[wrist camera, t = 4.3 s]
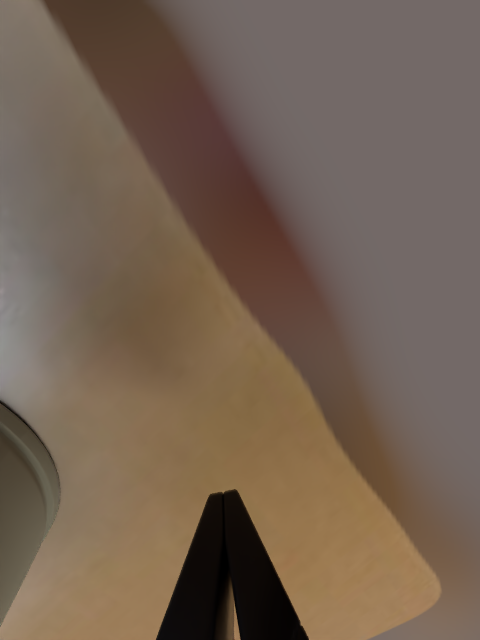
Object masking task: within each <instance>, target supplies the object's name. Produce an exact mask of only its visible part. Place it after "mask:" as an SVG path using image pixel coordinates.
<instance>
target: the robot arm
mask: <svg viewBox="0 0 480 640" xmlns="http://www.w3.org/2000/svg"><path fill="white" fill-rule="evenodd" d="M234 602H235V608H236V614H237V620H238V626H239V633H240V639H241V640H309V638H308V636H307V634H306V632H305V630H304V628H303V626H301V624H300V620H299V618H298V616H297V614H296V612H295V610H294V608H293V605H292V603H291V601H290V599H289V597H288V595H287V593H286V591H285V589H284V587H283V585H282V583H281V580H280V578H279V576H278V574H277V572H276V570H275V568H274V566H273V564H272V562H271V560H270V557H269V555H268V553H267V551H266V549H265V547H264V545H263V543H262V541H261V539H260V537H259V535H258V532H257V530H256V528H255V526H254V524H253V522H252V520H251V518H250V516H249V514H248V512H247V510H246V507H245V505H244V503H243V501H242V499H241V497H240V495H239V493H238V491H237V490H236V489H234V490H228V491H225V492H224V494H223V493H222V492H218V493H213V494H210V495H209V497H208V499H207V502H206V505H205V507H204V510H203V513H202V516H201V518H200V521H199V524H198V526H197V529H196V532H195V535H194V537H193V540H192V543H191V545H190V548H189V551H188V554H187V556H186V559H185V562H184V564H183V567H182V570H181V573H180V575H179V578H178V581H177V584H176V586H175V589H174V592H173V594H172V597H171V600H170V603H169V605H168V608H167V611H166V613H165V616H164V619H163V622H162V624H161V627H160V630H159V632H158V635H157V638H156V640H234Z"/></svg>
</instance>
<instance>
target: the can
mask: <svg viewBox="0 0 480 640" xmlns="http://www.w3.org/2000/svg"><path fill="white" fill-rule="evenodd" d="M59 502H60V485H59V479H58V475H57V471H56V469H55V466H54V464H53V461H52V459H51V457H50V456H49V454H48V452H47V450H46V449H45V447H44V446H43V444H42V443H41V442H40V440H39V439H38V438H37V436H36V435H35V434H34V433H33V432H32V431H31V429H30V428H29V427H28V426H27V425H26V424H25V423H24V422H22V421H21V420H20V419H19V418H18V417H17V416H16V415H15V414H13V413H12V412H11V411H10V410H8V409H7V408H6V407H5V406H3V405H2V404H0V626H1V624H2V622H3V620H4V618H5V616H6V614H7V612H8V610H9V608H10V606H11V604H12V602H13V600H14V598H15V596H16V594H17V592H18V590H19V588H20V586H21V584H22V582H23V580H24V578H25V576H26V574H27V572H28V570H29V568H30V566H31V564H32V562H33V560H34V558H35V556H36V554H37V552H38V550H39V547H40V545H41V543H42V541H43V540H44V539H45V537H46V535H47V533H48V532H49V530H50V528H51V526H52V524H53V522H54V520H55V517H56V514H57V511H58V507H59Z"/></svg>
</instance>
